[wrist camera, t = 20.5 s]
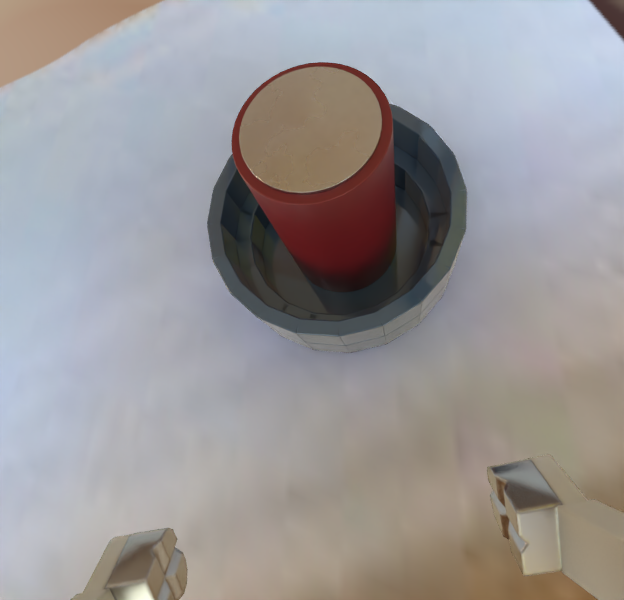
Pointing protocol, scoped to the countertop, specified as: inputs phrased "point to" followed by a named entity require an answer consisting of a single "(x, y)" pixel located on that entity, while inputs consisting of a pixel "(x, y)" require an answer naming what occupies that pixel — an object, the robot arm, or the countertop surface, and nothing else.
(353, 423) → the countertop surface
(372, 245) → the can
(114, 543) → the robot arm
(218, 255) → the bowl
